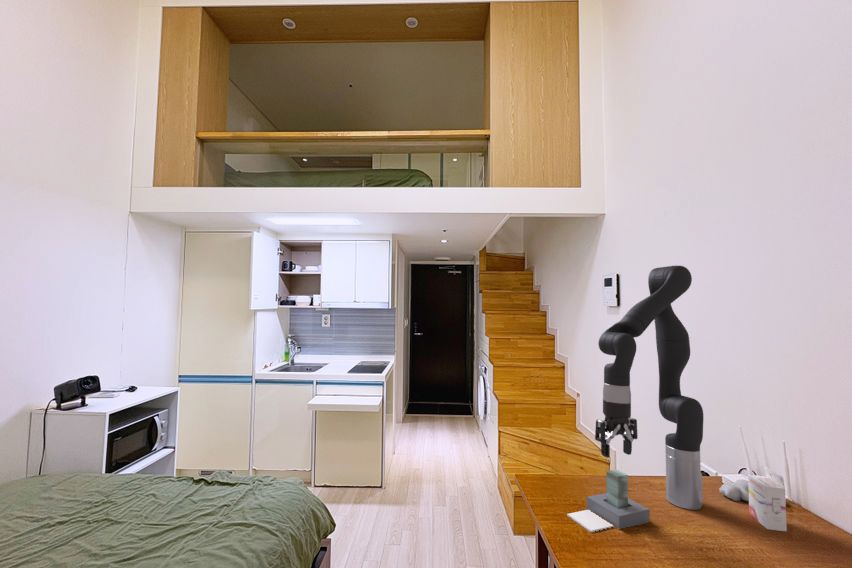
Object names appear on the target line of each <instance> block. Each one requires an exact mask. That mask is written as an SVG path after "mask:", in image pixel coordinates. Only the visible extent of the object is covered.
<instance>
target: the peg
mask: <svg viewBox="0 0 852 568" xmlns="http://www.w3.org/2000/svg"><path fill="white" fill-rule="evenodd" d="M605 476H606V477H605V478H606V488H605V489H606V493H607V503H609V504H610V505H612V506H614V507H615V508H617V509H621V508H625V507H628V498H629V480H628V479H629V476H628V474H627V473H626V472H622V471H620V470H618V469H612V470H606V475H605Z"/></svg>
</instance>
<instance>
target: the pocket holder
mask: <svg viewBox="0 0 852 568" xmlns="http://www.w3.org/2000/svg"><path fill="white" fill-rule="evenodd" d="M586 510H590V511H592V512H594V513H595V514H597V515H598V516H600V517H602V518H604V519H605V520H606V521H608V522H609V523H611V524H612V525H614V526H613V527H615V528H616V527H617V528H616V529H618V528H619V529H618V530H622V529H621V528H624V529H626V527H628V528H632V527H636V526H640V525H643V524H648V523H650V509H649V508H647V507H646V506H644V505H642V504H640V503H639V502H636V501H634V500H633V499H630V498H629V497H628V507H625V508H621V509H617V508H615V507H614V506H612V505H610V504H609V503H607V492H604V493H599V494H595V495H589V496H586ZM635 525H636V526H635ZM631 526H632V527H631Z"/></svg>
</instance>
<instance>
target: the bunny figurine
mask: <svg viewBox="0 0 852 568" xmlns="http://www.w3.org/2000/svg"><path fill="white" fill-rule="evenodd" d="M718 491H719V493H720V494H722V495H724V496H725V497H727V498H729V499H731V500H733V501H735V502H740V501H742V500H743V501H746V502H749V487H748V480H747V479H738V480H736V481H734V482H732V481H723V484H722V485H721V486H720V487H719V488H718Z"/></svg>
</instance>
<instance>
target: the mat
mask: <svg viewBox="0 0 852 568" xmlns="http://www.w3.org/2000/svg"><path fill="white" fill-rule="evenodd" d="M566 516H567V517H568V518H569V519H571V520H572V521H573V522H575V523H576V524H578V525H580V526H581V527H582V528H584V529H585V530H587V531H588V532H589V533H590V534H591V533H596V532H599V530H600V531H603V529H605V530H608V529H607V528H609V529H612V528H611V527H613V528H614V526H613V525H612V524H610V523H609V522H607V521H606V520H604V519H602V518H601V517H599V516H598V515H596V514H595V513H593V512H591V511H590V510H588V509H584V510H579V511H576V512H571V513H566ZM595 531H596V532H595Z"/></svg>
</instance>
